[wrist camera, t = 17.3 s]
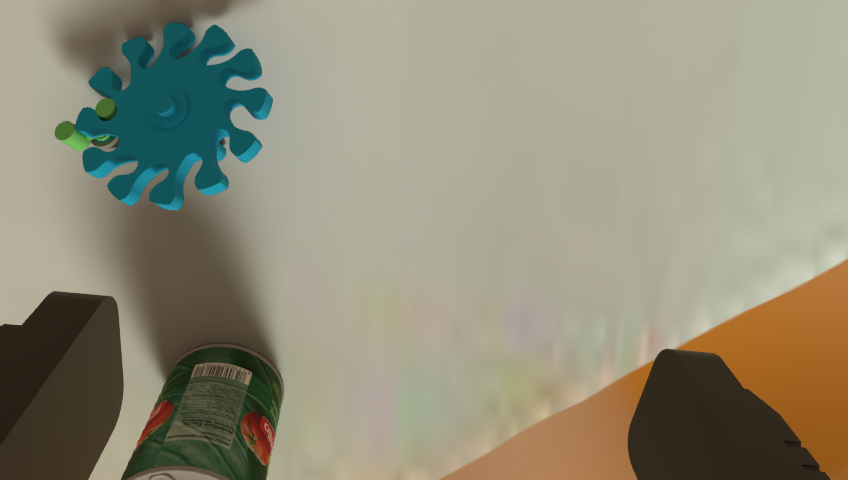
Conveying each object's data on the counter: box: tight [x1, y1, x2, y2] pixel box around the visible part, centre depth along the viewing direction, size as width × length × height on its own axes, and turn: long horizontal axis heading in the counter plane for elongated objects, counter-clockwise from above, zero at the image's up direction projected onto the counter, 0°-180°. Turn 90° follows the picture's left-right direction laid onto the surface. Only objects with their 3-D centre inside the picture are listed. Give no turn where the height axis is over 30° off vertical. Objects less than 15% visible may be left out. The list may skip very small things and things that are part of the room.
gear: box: [55, 23, 273, 210], centre depth 34 cm, size 11×6×10 cm
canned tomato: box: [121, 343, 284, 480], centre depth 40 cm, size 8×8×11 cm
